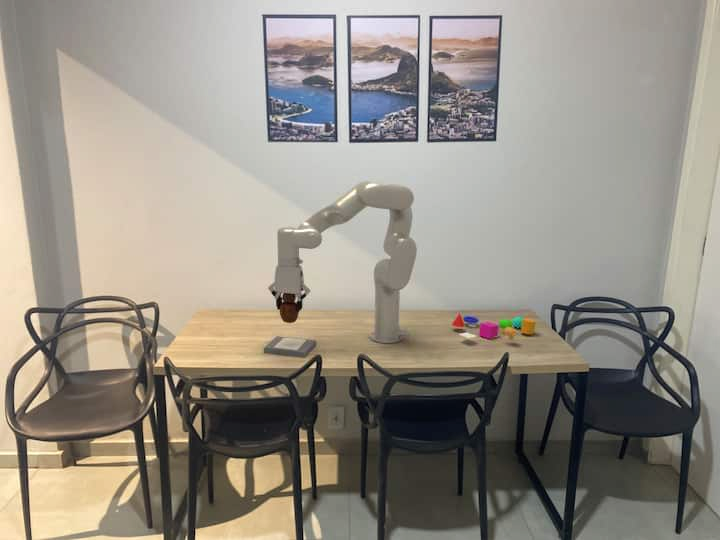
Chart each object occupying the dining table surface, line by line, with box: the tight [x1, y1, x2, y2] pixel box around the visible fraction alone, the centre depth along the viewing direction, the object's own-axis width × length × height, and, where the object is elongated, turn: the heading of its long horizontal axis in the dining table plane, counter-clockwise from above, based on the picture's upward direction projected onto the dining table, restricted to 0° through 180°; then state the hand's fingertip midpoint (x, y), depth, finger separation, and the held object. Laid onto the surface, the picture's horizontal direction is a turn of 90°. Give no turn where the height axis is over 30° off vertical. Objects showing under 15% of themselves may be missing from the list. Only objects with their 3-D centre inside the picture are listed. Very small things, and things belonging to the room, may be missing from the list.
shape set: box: [451, 313, 536, 340], centre depth 211 cm, size 29×35×7 cm
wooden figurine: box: [279, 293, 300, 324], centre depth 190 cm, size 7×6×15 cm
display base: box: [263, 335, 317, 359], centre depth 194 cm, size 16×12×2 cm
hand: (289, 309), depth 191 cm, fingers closed on wooden figurine, 6 cm apart
